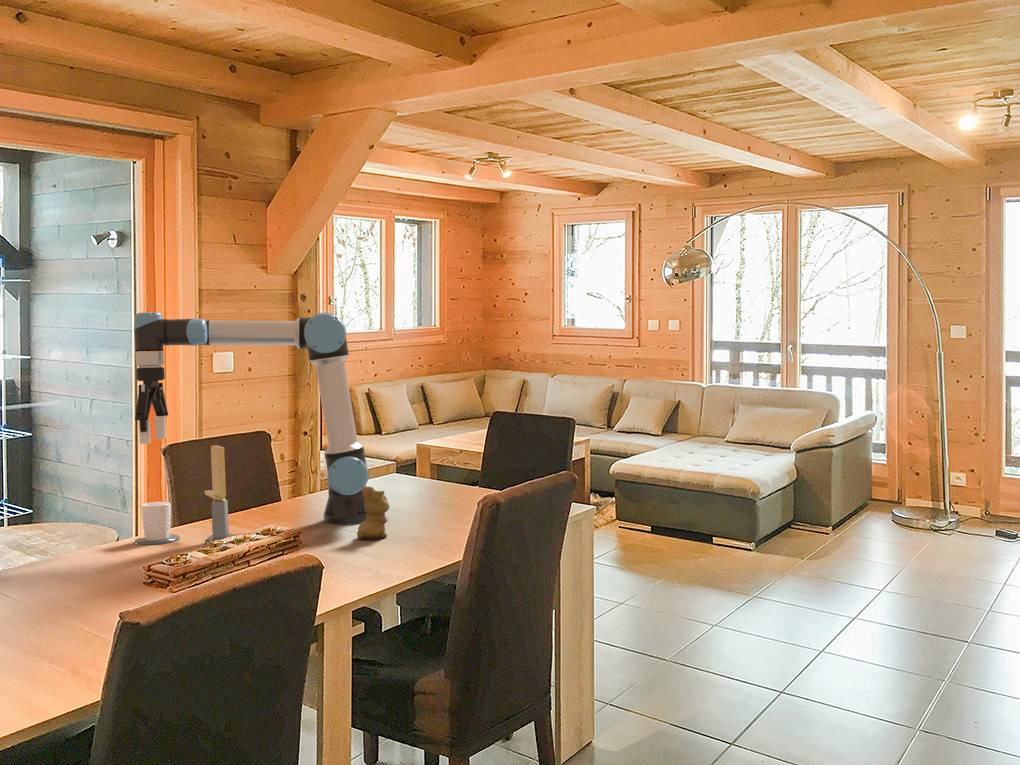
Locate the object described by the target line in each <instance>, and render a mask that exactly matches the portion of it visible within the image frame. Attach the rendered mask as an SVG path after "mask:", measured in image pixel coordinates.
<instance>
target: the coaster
mask: <svg viewBox="0 0 1020 765" xmlns="http://www.w3.org/2000/svg"><path fill="white" fill-rule="evenodd" d="M143 537H144V536H143ZM180 537H181V536H180V535H178V534H174V533H173V534H172V533H170V537H169V538H167V539H164V540H156V541H149V540H145V537H144V538H140V537H138V538H135V540H134V544H135V543H137V544H136V545H138V544H140V545H139V546H157V545H167V544H172V543H174V542H177V541H179V540H180Z"/></svg>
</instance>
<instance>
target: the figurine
mask: <svg viewBox="0 0 1020 765" xmlns="http://www.w3.org/2000/svg"><path fill="white" fill-rule="evenodd" d="M362 494H363V496H364V498H365V503H364V508H365V511H366V512H367V515H366V519H365V520H364V521H363V522H362V523H359V525H358V530H357V532H356V535H357V536H356V538H358V540H360V541H361V540H364V541H378V540H383V539H386V538H387V536H388V534H387V532H386V523H387V522H388V521H389V519H388V517H387V515H386V513H387V512H388V511H389V509H390V504H389V503H390V502H388V498H387V496H386V495H385V491H384V490H375V488H374V487H373V486H370V485H369V486H367V484H366V485H364V486H363V488H362Z"/></svg>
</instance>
